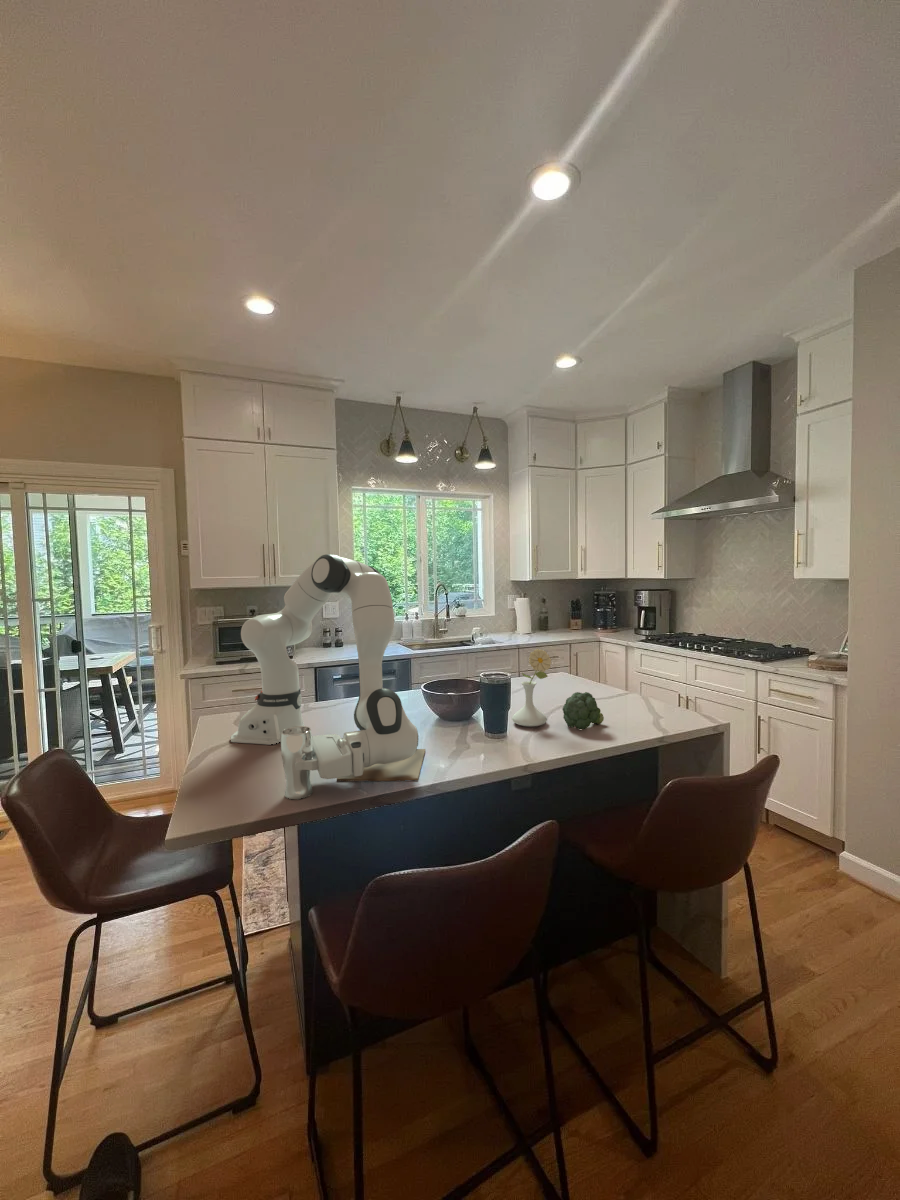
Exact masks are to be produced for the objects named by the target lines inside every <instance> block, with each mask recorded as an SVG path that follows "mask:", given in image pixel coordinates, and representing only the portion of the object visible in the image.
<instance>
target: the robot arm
mask: <svg viewBox="0 0 900 1200" xmlns="http://www.w3.org/2000/svg"><path fill="white" fill-rule="evenodd" d="M389 586H390V585H389V584H388V581H387V579H386V577H385V576H384V575H383V574H381V572H380V571H379V570H377V569H376V568H375V567H373V566H371V565H367V564H365V563H363V562H360V561H359V560H356V559H351V558H346V557H342V556H339V555H337V554H322V555H320V556H319V557H318V558H317V559H314V561H313V562H311V564H309V565H308V566H307V567H306V568H305V569H304V570H303V571H302V572H301V573H300V575H299V576H298V577H297V578H296V579H295V580H294V582H293V583H292V584H291V586H289V588H288V590H287V591H286V592H285V594H284V596H283V602H284V607H283V608H282V609H281V610H279V611H278V612H275V613H265V614H259V615H257V616H253V617H252V618H249V619H247V620H246V621H244V623H243V624H242V626H241V629H240V639H241V642H242V643H243V645H244V646H245V647H246V648H247V649H248V650H249V651H251V652H252V653H253V654H254V655H255V657H256V659H257V663H258V664H259V668H260V674H261V688H262V689H261V691H260V693H258V694H257V695H256V696H254V701H257V704H255V706H253V707H252V708H250V709H249V710H248V711H246V713H245V714H243V716H242V717H241V718H240V720H239V723H238V726H237V727H238V728H237V730H236V731H234V733H232V734H231V736H230V740H231V741H230V742H231V743H238V744H239V743H242V744H254V745H255V744H256V745H269V746H270V745H271V744H273V745H277V744H280V743H281V732H282V731H283V730H284V729H287V728H290V727H296V726H305V724H304V719H303V715H302V708H301V707H302V693H301V692H302V691H301V688H300V679H299V666H298V664H297V663H296V662H295V661H294V660H292V659H291V658H290V656H289V654H288V650H287V647H290V646H295V645H298V644H300V643H302V642H303V641H305V640H307V639H309V637H310V636H311V634H312V632H313V623H312V622H313V620H314V618H315V616H316V615H317V614H318V613H319V611H320V610H321V609H322V608H323V607H324V605H325V604H326V603H327V602H328V600H329V599H330V598H331V597H332V595H334V596H338V597H341V598H344V599H345V598H347V599H350V600H351V601H350V602H351V618H352V626H353V633H354V636H355V637H354V639H355V644H356V650H357V651H356V652H357V657H358V684H359V685H358V686H359V694H358V699H357V702H356V705H355V708H354V711H353V719H354V720H353V721H354V724H355V725H356V727H357V729H358V730H353V731H346V732H344V733H343V737H341V736H340V735H339V734H335V733H333V734H331V733H330V734H319V735H318V734H317V735H313V736H312V745H313V753H312V759H311V760H305V761H303V760H298V761H295V769H296V770H310V771H317V772H318V775H319V777H320V779H324V780H333V779H337V778H341V777H347V776H350V775H353V776H354V777H356V776H361V775H362V774H363V770H364V768H365V767H370V766H372V765H374V764H388V763H393V762H398V761H401V760H405V759H407V758H410V757H411V756H412V755H413V754H414V753H415V752H416V750H417V749H418V745H419V731H418V729H417V727H416V725H415V724H414V723H413V722H412V721H411V720H410V718H409V717H408V715H407V714H406V711H405V710H404V707H403V704H402V701H401V697H400V696H399V695H398V694H397V693H396V692H395V691H394V690H392V689H390V688H385V687H383V686H384V685H383V658H384V655H385V652H386V650H387V647H388V645H389V643H390V641H391V639H392V637H393V635H394V627H395V626H394V625H395V614H394V605H393V599H392V598H393V597H392V593H391V591H390V587H389ZM279 742H280V743H279ZM276 743H277V744H276Z"/></svg>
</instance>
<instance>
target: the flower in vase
mask: <svg viewBox="0 0 900 1200" xmlns="http://www.w3.org/2000/svg"><path fill="white" fill-rule="evenodd" d="M528 660H529V661H528V664H529V665H530V666H531V668H532V669H533V670H534V674H533V675H532V676H530V675H528V674H525V673H523V672H521V674H522V676H524V677H525V678H527V679H530V680H525V681H521V683H520V684H521V685H522V686H523V689H524V693H525V703H524V705H523V706H522V707H521V708H520V709H519V710H517V711H516V712H515V713H514V714H513V715H512V717H511V720H512V722H513V723H514V724H517V725H519V726H523V727H538V726H542V725H544V724H546V722H547V721H548V718H547V716H546V715H545V714H544V713H543V712H542V711H540V710H539V709H538V708H537V707H536V706H535V704H534V702H533V695H534V688H535V686H536V685H537V683H538V682H536V681H533V679H534V678H535V676H536V677H537V678H538V679H540V680H542V679H546V678H548V677H549V676H548V674H547V673H545V672H546V671H548V670H549V669H551V665H552V659H551V657H550V655H549V654H548V652H547V651H546V650H543V649H542V648H541V649H539V648H536V649H534V650H533V651H531V652H529V657H528Z"/></svg>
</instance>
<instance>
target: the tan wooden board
mask: <svg viewBox="0 0 900 1200" xmlns="http://www.w3.org/2000/svg"><path fill="white" fill-rule="evenodd" d="M424 754H425V755H426V748H417V750H416V752H415V753H414V754H413V755H412V756H411V757H410V758H407V759H405V760H401V761H398V762H393V763H388V764H374V765H372V766H370V767H365V768H364V770H363V774H362V775H361V776H356V777H354V776H353V775H350V776H347V777H341V778H336V782H406V781H405V780H418V781H419V779H420V774H421V771H420V770H421V769H422V767H421V766H423V763H424V759H423V758H425V755H424ZM422 762H423V763H422Z"/></svg>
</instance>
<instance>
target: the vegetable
mask: <svg viewBox="0 0 900 1200" xmlns="http://www.w3.org/2000/svg"><path fill="white" fill-rule="evenodd" d="M562 713H563V717H562V718H563V720H564V721H565V724H567V727H569V726H570V727H569V728H575V727H576V728H575V729H578V730H579V729H582V730H586V729H587V728H589V727H590V726H591V724H593V723H597V724H596V725H600V724H602V723H603V722H604V719H605V717H604V714H603V713H602V711H601V708H599V707H598V703H597V701H596V698H595V697H594V696H593V694H591V693H590V692H587V691H585V692H583V693H582V692H580V691H576V692H574V693H572V694H571V696H569V697H568V698H567V697H566V699H565V703H564V705H563V707H562Z"/></svg>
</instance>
